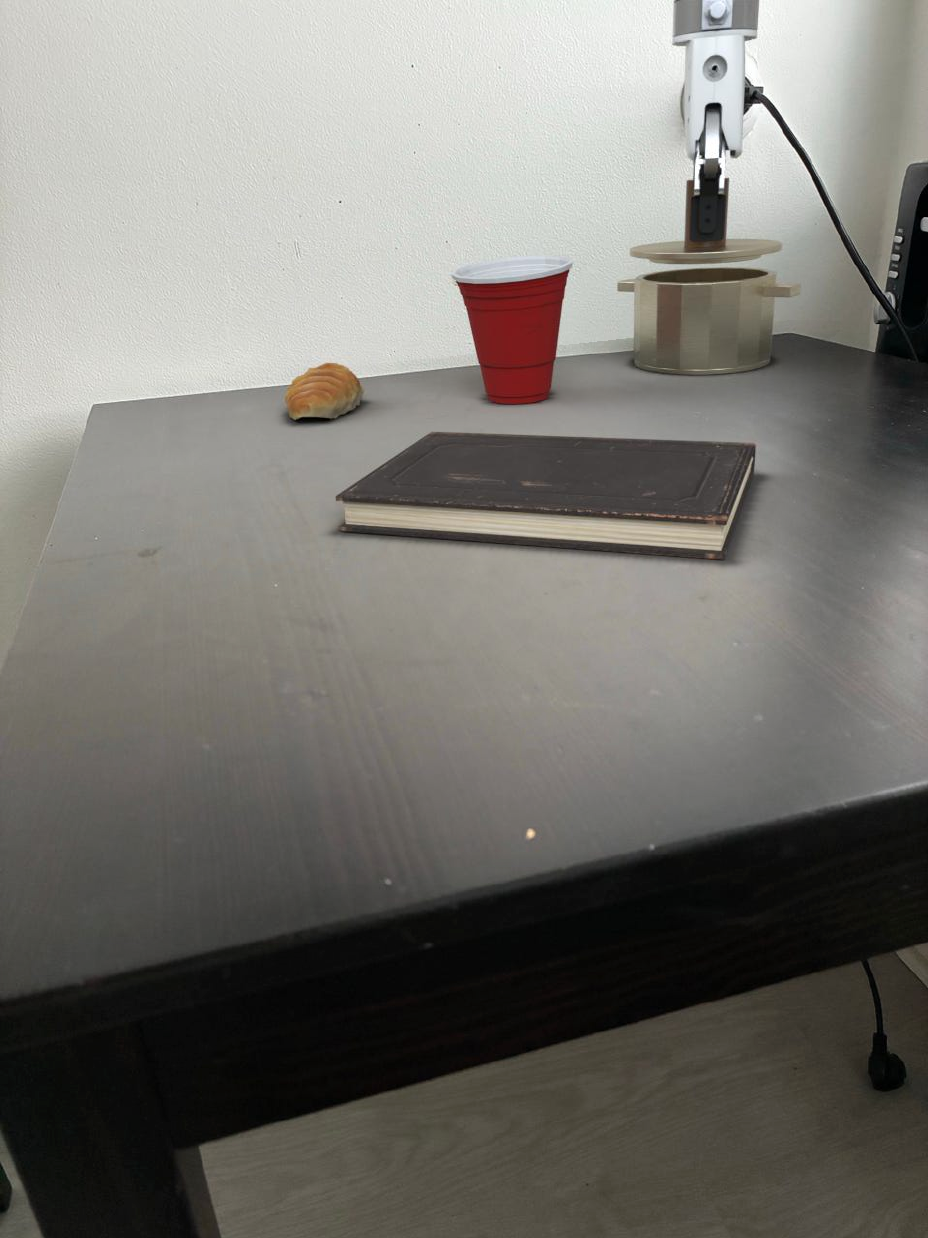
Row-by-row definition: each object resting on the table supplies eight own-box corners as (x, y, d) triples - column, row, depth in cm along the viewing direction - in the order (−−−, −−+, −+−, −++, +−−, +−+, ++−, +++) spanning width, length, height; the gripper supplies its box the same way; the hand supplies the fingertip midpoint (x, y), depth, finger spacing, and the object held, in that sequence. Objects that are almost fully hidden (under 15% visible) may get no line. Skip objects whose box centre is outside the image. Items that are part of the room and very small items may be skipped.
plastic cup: (434, 404, 92) (424, 267, 87) (507, 381, 99) (502, 254, 94) (528, 416, 85) (523, 269, 80) (598, 391, 92) (598, 254, 87)
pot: (655, 344, 113) (656, 265, 109) (818, 356, 101) (825, 268, 98) (587, 366, 104) (586, 280, 100) (758, 381, 92) (764, 285, 89)
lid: (676, 250, 108) (678, 177, 105) (806, 251, 99) (813, 172, 96) (601, 264, 98) (601, 185, 95) (738, 267, 89) (743, 180, 86)
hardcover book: (724, 560, 53) (726, 519, 52) (339, 531, 61) (335, 495, 60) (754, 474, 67) (756, 440, 66) (436, 459, 74) (434, 429, 73)
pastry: (347, 423, 87) (342, 379, 85) (272, 426, 87) (266, 383, 86) (367, 399, 95) (362, 359, 94) (298, 402, 96) (293, 362, 94)
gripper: (766, 7, 82) (751, 244, 90) (751, 29, 97) (739, 230, 104) (673, 15, 83) (666, 248, 91) (672, 35, 98) (666, 234, 106)
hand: (705, 236), depth 98 cm, fingers closed on lid, 4 cm apart
